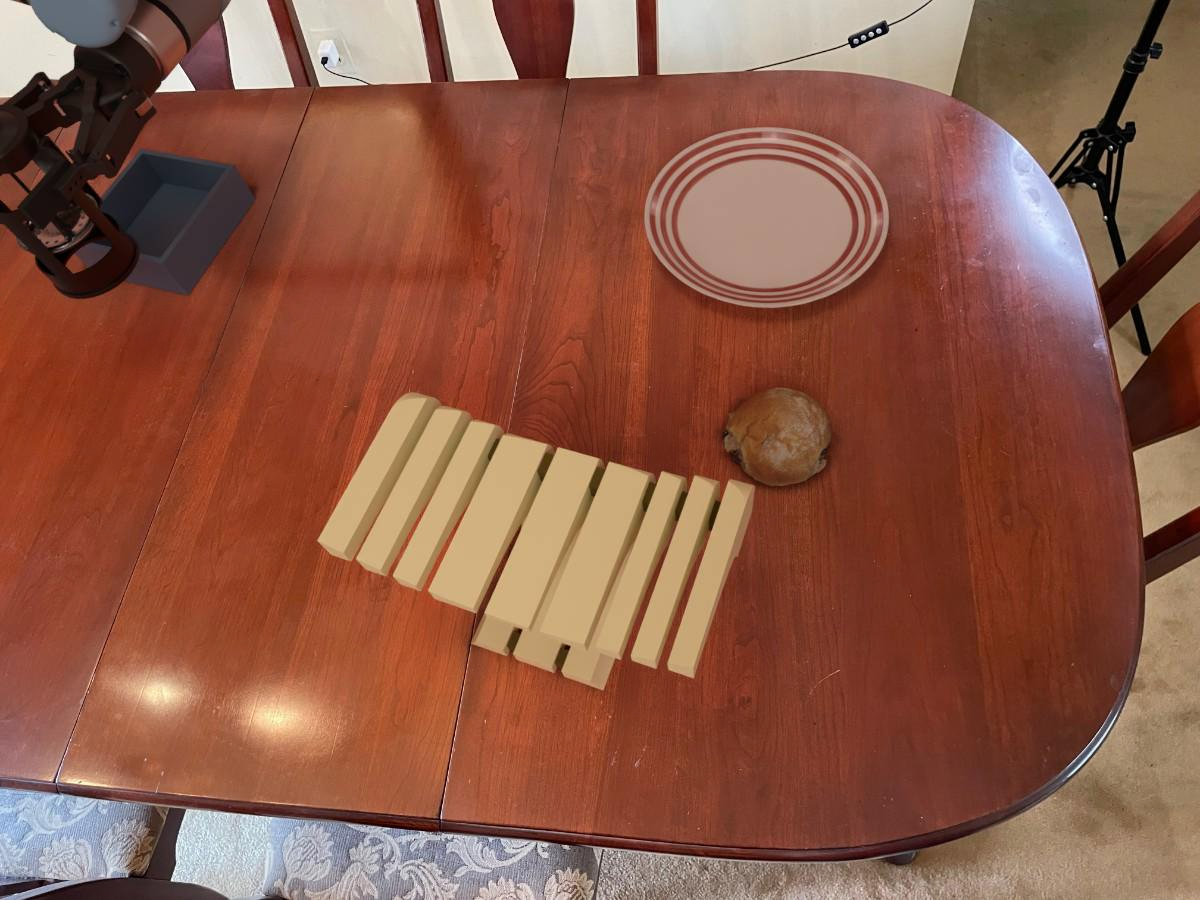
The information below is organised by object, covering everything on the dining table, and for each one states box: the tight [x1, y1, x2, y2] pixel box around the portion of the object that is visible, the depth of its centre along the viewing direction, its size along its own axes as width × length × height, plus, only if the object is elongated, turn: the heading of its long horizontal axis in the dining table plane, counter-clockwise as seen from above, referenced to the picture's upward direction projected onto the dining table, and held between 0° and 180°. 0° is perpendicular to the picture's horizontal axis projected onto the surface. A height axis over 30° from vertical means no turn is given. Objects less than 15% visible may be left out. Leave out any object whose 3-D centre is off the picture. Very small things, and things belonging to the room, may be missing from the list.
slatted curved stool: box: [316, 391, 756, 691], centre depth 72 cm, size 30×16×18 cm, turn 69°
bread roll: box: [721, 387, 833, 487], centre depth 83 cm, size 10×10×8 cm
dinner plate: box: [643, 126, 890, 309], centre depth 97 cm, size 27×27×3 cm
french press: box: [0, 103, 140, 300], centre depth 81 cm, size 12×9×23 cm
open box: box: [74, 147, 256, 297], centre depth 106 cm, size 15×17×6 cm
